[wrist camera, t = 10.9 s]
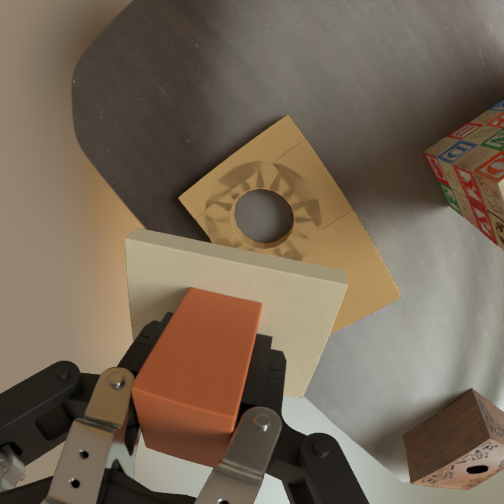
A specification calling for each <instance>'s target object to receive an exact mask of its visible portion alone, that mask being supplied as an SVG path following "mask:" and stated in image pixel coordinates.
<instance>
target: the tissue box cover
mask: <svg viewBox="0 0 504 504" xmlns="http://www.w3.org/2000/svg"><path fill="white" fill-rule="evenodd" d="M403 436H404V442H405V448H406V454H407V461H408V468H409V475H410V482H411V484H416V485H423V486H431V487H440V488H451V489H465V490H469V489H471V488H473V487H475V486H477V485H479V484H480V483H482V482H484V481H486V480H487V479H489V478H491V477H492V476H494V475H495V474H497V473H498V472H500V471H502V470H503V469H504V412H503V411H501V410H500V409H499V408H497V407H496V406H495V405H493V404H492V403H491V402H489V401H488V400H487V399H485V398H484V397H483V396H481V395H480V394H479V393H477V392H476V391H475V390H473V389H472V388H471V389H470V390H469V391H468V392H466V393H465V394H464V395H463V396H461V397H460V398H459V399H457V400H456V401H455V402H453V403H452V404H451V405H449V406H448V407H446V408H445V409H444V410H442V411H441V412H439V413H438V414H436V415H435V416H434V417H432V418H431V419H429V420H428V421H426V422H424V423H423V424H421V425H420V426H418V427H417V428H415V429H413V430H412V431H410V432H408V433H407V434H405V435H403Z"/></svg>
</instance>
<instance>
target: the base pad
mask: <svg viewBox="0 0 504 504" xmlns="http://www.w3.org/2000/svg"><path fill="white" fill-rule="evenodd" d="M257 189H265V190H271V191H274V192H276V193H277V194H279V195H281V196H282V197H284V198H285V200H286V201H287V202H288V204H289V205H290V206H291V208H292V212H293V216H294V220H293V225H292V227H291V229H290V230H289V231H288V233H287V234H286V235H285V236H284V237H282V238H281V239H279V240H277V241H274V242H268V243H263V242H257V241H254V240H252V239H250V238H249V237H247V236H245V235H244V234H243V233H242V232H241V230H240V229H239V228H238V226H237V223H236V220H235V216H234V213H235V205H236V203H237V201H238V199H239V198H240V197H241V196H242V195H244V194H245V193H247V192H248V191H252V190H257ZM178 199H179V200H180V201H181V203H182V204H183V205H184V206H185V208H186V209H187V210H188V211H189V213H190V214H191V215H192V216H193V218H194V219H195V220H196V221H197V223H198V224H199V225H200V226H201V228H202V229H203V230H204V231H205V233H206V234H207V235H208V236H209V238H210V240H211V242H212V243H213V244H218V245H223V246H228V247H233V248H238V249H243V250H247V251H252V252H257V253H262V254H267V255H272V256H277V257H282V258H286V259H291V260H296V261H301V262H306V263H311V264H316V265H321V266H325V267H330V268H335V269H340V270H344V271H345V275H346V280H347V284H348V286H347V289H346V292H345V295H344V297H343V300H342V303H341V306H340V308H339V311H338V314H337V316H336V319H335V322H334V324H333V327H332V329H331V332H330V334H332V333H334V332H336V331H338V330H340V329H342V328H344V327H346V326H348V325H350V324H352V323H354V322H356V321H358V320H359V319H361V318H363V317H365V316H367V315H369V314H371V313H373V312H375V311H377V310H378V309H380V308H382V307H384V306H386V305H387V304H389V303H391V302H393V301H395V300H396V299H398V298H400V297H401V295H400V292H399V290H398V288H397V286H396V284H395V282H394V280H393V279H392V277H391V275H390V273H389V271H388V269H387V267H386V265H385V264H384V262H383V260H382V258H381V256H380V254H379V253H378V251H377V249H376V247H375V246H374V244H373V242H372V240H371V239H370V237H369V235H368V233H367V232H366V230H365V228H364V227H363V225H362V223H361V222H360V220H359V218H358V217H357V215H356V213H355V212H354V210H353V209H352V207H351V205H350V204H349V202H348V200H347V199H346V197H345V196H344V194H343V193H342V191H341V189H340V188H339V186H338V185H337V183H336V182H335V180H334V179H333V177H332V176H331V174H330V173H329V171H328V170H327V168H326V167H325V165H324V164H323V162H322V161H321V160H320V158H319V157H318V155H317V154H316V152H315V151H314V149H313V148H312V147H311V145H310V144H309V142H308V141H307V140H306V139H305V137H304V136H303V134H302V133H301V131H300V130H299V129H298V127H297V126H296V125H295V123H294V122H293V121H292V119H291V118H290V117H289V115H286V116H285V117H283V118H282V119H280V120H279V121H278V122H276V123H275V124H273V125H272V126H270V127H269V128H268V129H266V130H265V131H263V132H262V133H261V134H259V135H258V136H256V137H255V138H254V139H252V140H251V141H250V142H248V143H247V144H246V145H244V146H243V147H242V148H240V149H239V150H238V151H236V152H235V153H234V154H232V155H231V156H230V157H228V158H227V159H226V160H224V161H223V162H222V163H220V164H219V165H218V166H217V167H215V168H214V169H213V170H212V171H210V172H209V173H208V174H206V175H205V176H204V177H203V178H201V179H200V180H199V181H198V182H196V183H195V184H194V185H193V186H192V187H190V188H189V189H188V190H187V191H186V192H184V193H183V194H182V195H181V196H179V197H178Z"/></svg>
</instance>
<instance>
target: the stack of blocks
mask: <svg viewBox="0 0 504 504" xmlns="http://www.w3.org/2000/svg"><path fill="white" fill-rule="evenodd" d="M423 153H424V156H425V157H426V159H427V161H428V163H429V165H430V167H431V169H432V171H433V173H434V175H435V177H436V179H437V180H438V181H439V184H440V186H441V188H442V190H443V193H444V195H445V197H446V199H447V202H448V204H449V206H450V207H451V208H452V209H453V210H455V211H456V212H457V213H459V214H460V215H461V216H463V217H465V218H466V219H467V220H468V221H469V222H471V223H472V224H473V225H474V226H475V227H477V228H478V229H479V230H480V231H481V232H482V233H483V234H484V235H485V236H487V237H488V238H489V239H490V240H491V241H493V243H495V244H496V245H497V246H499V247H500V248H502V249H503V250H504V99H503V100H501V101H500V102H499V103H497V104H496V105H494V106H493V107H491V108H490V109H488V111H486V112H484V113H483V114H481V115H480V116H478V117H477V118H475V119H474V120H472V121H471V122H470V123H466V124H465V125H463V126H462V127H460V128H459V129H457V130H456V131H454V132H452V133H451V134H449V135H448V136H447V137H445V138H443V139H441V140H440V141H438V142H437V143H435V144H434V145H432V146H431V147H429V148H428V149H426V150H425V151H424V152H423Z"/></svg>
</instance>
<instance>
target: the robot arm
mask: <svg viewBox="0 0 504 504" xmlns="http://www.w3.org/2000/svg"><path fill="white" fill-rule="evenodd" d="M173 314H174V313H172V312H167V313H166V314H165V316H164V317H163V319H162V321H161V322H159V321H156V320H153V321H151V322H150V323H148V324H147V325H145V326H144V327H143V329H142V330H141V332H140V333H139V336H137V337H136V339H135V340H134V342H133V343H132V345H131V346H130V348H129V349H128V351H127V352H126V354H125V355H124V357H123V358H122V360H121V361H120V363H119V364H118V366H117V367H112V368H109V369H107V370H105V371H104V372H103V373H102V374H100V375H98V374H88V373H80V371H79V368H78V367H77V365H75V364H74V363H72V362H70V361H59V362H56V363H54V364H52V365H51V366H49V367H47V368H45V369H44V370H42V371H40V372H38V373H36V374H35V375H33V376H31V377H29V378H28V379H26V380H24V381H22V382H20V383H19V384H17V385H15V386H13V387H12V388H10V389H8V390H6V391H5V392H3V393H1V394H0V504H253V503H254V501H255V499H256V496H257V494H258V492H259V489H260V487H261V484H262V482H263V479H264V474H265V473H267V474H269V475H271V476H273V477H275V478H278V479H280V480H282V483H283V486H284V489H285V491H286V494H287V496H288V499H289V501H290V504H369V502H368V500H367V498H366V496H365V494H364V493H363V490H362V489H361V487H360V485H359V483H358V481H357V479H356V477H355V475H354V473H353V471H352V469H351V467H350V465H349V463H348V461H347V459H346V457H345V455H344V454H343V451H342V449H341V447H340V446H339V444H338V442H337V441H336V440H335V439H334V438H333V437H332V436H330V435H328V434H325V433H313V434H310V435H308V436H307V435H305V434H302V433H300V432H297V431H296V430H294V429H292V428H291V427H289V426H288V425H287V424H286V423H285V421H284V420H283V417H282V413H281V408H282V401H283V392H284V383H285V374H286V373H285V372H286V364H287V360H286V358H285V355H284V353H283V351H279V350H274V349H271V345H272V338H273V336H268V335H263V334H258V333H256V338H255V342H254V347H253V351H252V355H251V360H250V364H249V368H248V372H247V377H246V381H245V385H244V389H243V393H242V398H241V402H240V406H239V411H238V415H237V419H236V424H235V428H234V432H233V436H232V438H231V440H230V442H229V444H228V446H227V448H226V450H225V452H224V453H223V455H222V457H221V459H220V460H219V461H218V462H217V463H216V465H215V466H214V468H213V470H212V472H211V474H210V476H209V477H208V479H207V481H206V483H205V485H204V487H203V489H202V490H201V492H200V494H199V496H198V497H197V498H195V497H191V496H188V495H181V494H170V493H160V492H153V491H151V490H149V489H147V488H146V487H144V486H143V485H141V484H140V483H138V482H137V481H135V480H134V475H135V456H136V451H137V447H138V443H139V438H140V434H141V428H140V425H139V421H138V417H137V414H136V410H135V406H134V402H133V398H132V394H131V389H130V387H131V385H132V383H133V381H134V380H135V378H136V376H137V375H138V373H139V371H140V369H141V368H142V366H143V364H144V363H145V361H146V359H147V358H148V356H149V354H150V353H151V351H152V349H153V348H154V346H155V344H156V342H157V341H158V339H159V337H160V336H161V334H162V333H163V331H164V329H165V328H166V326H167V324H168V323H169V321H170V319H171V318H172V316H173ZM65 440H66V442H65V444H64V447H63V450H62V453H61V456H60V458H59V461H58V464H57V467H56V470H55V473H54V476H50V477H48V478H45V479H42V480H39V481H36V482H33V483H30V484H27V485H24V486H21V487H17V488H15V486H16V484H17V483H18V481H22V480H24V479H25V466H26V465H28V464H29V463H31V462H33V461H34V460H36V459H37V458H39V457H41V456H42V455H43V454H45V453H47V452H48V451H50V450H52V449H53V448H55V447H56V446H58V445H59V444H61V443H62V442H64V441H65Z"/></svg>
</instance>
